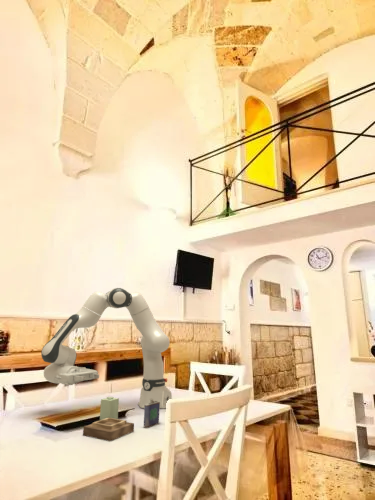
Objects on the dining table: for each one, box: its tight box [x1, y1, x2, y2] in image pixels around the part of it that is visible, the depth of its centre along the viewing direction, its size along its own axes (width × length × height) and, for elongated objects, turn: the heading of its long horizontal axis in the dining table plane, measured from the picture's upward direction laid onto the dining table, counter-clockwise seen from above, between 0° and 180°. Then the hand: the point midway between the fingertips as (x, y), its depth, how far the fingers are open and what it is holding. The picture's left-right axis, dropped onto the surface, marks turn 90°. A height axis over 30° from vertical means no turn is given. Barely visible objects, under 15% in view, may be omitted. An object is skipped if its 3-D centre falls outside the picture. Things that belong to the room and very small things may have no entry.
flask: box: [143, 398, 160, 429], centre depth 143 cm, size 9×3×11 cm, turn 146°
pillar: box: [99, 396, 120, 421], centre depth 146 cm, size 6×6×11 cm
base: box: [82, 418, 135, 442], centre depth 131 cm, size 14×14×4 cm
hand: (91, 377), depth 154 cm, fingers open, 8 cm apart
